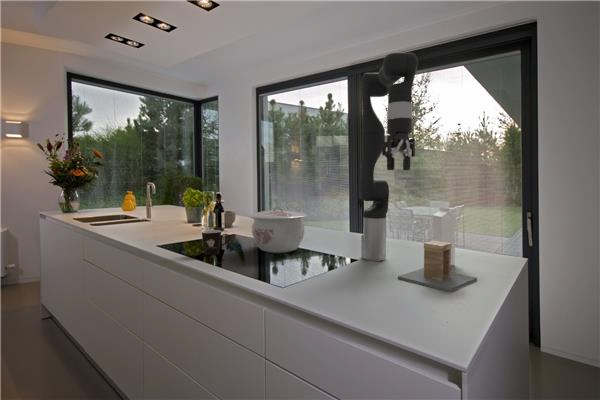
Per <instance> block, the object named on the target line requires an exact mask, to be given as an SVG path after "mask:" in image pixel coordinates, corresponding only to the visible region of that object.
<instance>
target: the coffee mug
mask: <svg viewBox="0 0 600 400" xmlns="http://www.w3.org/2000/svg"><path fill="white" fill-rule="evenodd" d="M224 236H227V237H228V239H227V241H225V242H224V243H223V244H221V241H222V240H221V239H222V238H223V237H224ZM201 237H202V238H201V239H202V244H203V245H202V246H203V252H204V255H206V256H214V255H215V256H216V255H219V254H220V249H221V248H222V247H223V246H225V245H226V244H227V243H228V242H229V241H230V239H231V237H230V235H229V234H228V233H223V234H222V230H219V229H209V230H208V229H207V230H202V231H201Z"/></svg>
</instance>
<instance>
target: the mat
mask: <svg viewBox="0 0 600 400" xmlns="http://www.w3.org/2000/svg"><path fill="white" fill-rule="evenodd" d="M397 279H398V280H402V281H406V282H409V283H413V284H417V285H421V286H425V287H429V288H433V289H436V290H441V291H445V292H449V293H451V292H453V291H456V290H458V289H461V288H463V287H464V286H466V285H469V284H471V283H473V282H476V281H477V280H478V277H475V276H471V275H466V274H461V273H457V272H451V271H450V277H449V278H447V277H443V280H442V281H440V280H436V279H431V278H427V277H424V267H423V268H419V269H416V270H413V271H409V272H407V273H403V274H400V275H398V276H397Z"/></svg>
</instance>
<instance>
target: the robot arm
mask: <svg viewBox="0 0 600 400" xmlns="http://www.w3.org/2000/svg"><path fill="white" fill-rule="evenodd" d="M418 66H419V59H418V57H417V55H416V54H415V53H413V52H390V53H388V54H385V57H384V58H383V61H382V67H381V68H380V69H379V71H378V72H365V73H364V74H363V75H362V76H361V82H360V91H361V112H362V114H361V117H362V118H361V167H360V168H361V169H360V177H359V188H358V189H359V195H360V198H361V200H362V201H364V202H372V204H371V206H370V207H368V208H366V209H364V210H363V217H362V218H363V220H362V221H363V228H362V229H363V232H362V233H363V234H362V235H361V240H360V241H361V246H360V249H361V250H360V251H361V255H360V256H361V258H363V259H364V260H367V261H373V262H376V261H377V262H378V261H385V260H386V259H387V213H388V211H389V199H390V186H389V184H388V181H387V180H386V179H384V178H374V174H375V166H376V164H377V162H378V160H379V158H380V157H381V155H382V156H384V157H385V158H386V169H387V171H394V170H395V167H396V166H395V159H396V158H395V156H396V154H397V153H398V152H399V153H400V154H401V156H402V158H403V159H402V170H403V171H410V170H411V159H412V158H413V157H415V156H416V142H415V139H416V138H414V137H411V138H409V135H410V134H411V133H412V132H413V107H412V90H413V85H414V80H415V76H416V73H417V70H418ZM401 78H403V81H401V82H398V81H399V80H401ZM396 82H398V83H396ZM386 96H387V99H388V100H387V101H388V102H387V111H386V113H387V114H386V129H385V126H384V125H383V123H382V121H381V120H380V118H379V116H378V115H377V113H376V112H375V109H374V108H373V103H372V100H371V98H382V97H386ZM385 130H386V131H385ZM386 134H387V135H386Z"/></svg>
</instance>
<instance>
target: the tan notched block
mask: <svg viewBox="0 0 600 400" xmlns="http://www.w3.org/2000/svg"><path fill="white" fill-rule="evenodd" d="M451 248H452V243H445V242H439V241H432V240H430V241H425V242H424V243H423V251H424V253H423V268H424V277H427V278H431V279H436V280H440V281H442V280H443V277H447V278H449V277H450V272H451V266H452V265H451Z"/></svg>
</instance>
